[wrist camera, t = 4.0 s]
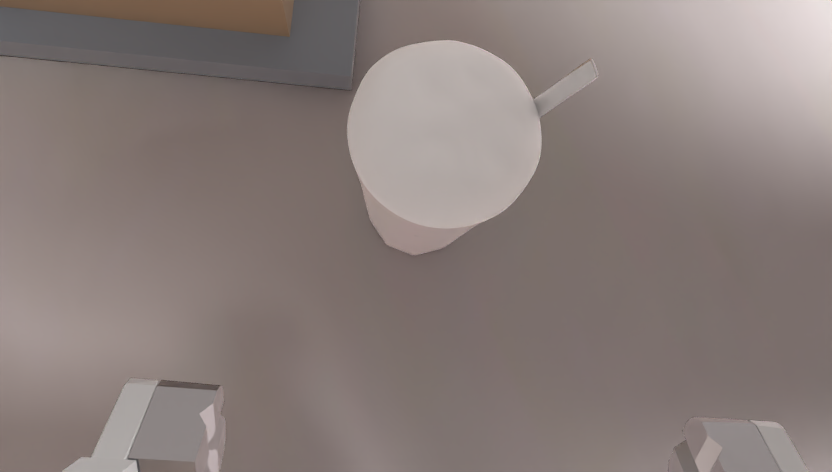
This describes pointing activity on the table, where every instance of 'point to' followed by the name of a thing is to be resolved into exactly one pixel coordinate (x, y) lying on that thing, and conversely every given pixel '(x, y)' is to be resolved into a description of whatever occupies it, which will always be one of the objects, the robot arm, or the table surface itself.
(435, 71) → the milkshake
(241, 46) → the baseplate
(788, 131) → the table surface
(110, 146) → the table surface
